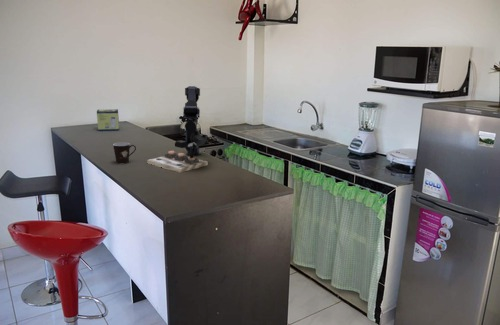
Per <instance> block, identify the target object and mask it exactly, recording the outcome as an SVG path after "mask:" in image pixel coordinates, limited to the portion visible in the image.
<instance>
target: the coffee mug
mask: <svg viewBox="0 0 500 325" xmlns="http://www.w3.org/2000/svg"><path fill="white" fill-rule="evenodd" d="M112 146H113V151H114V157H115V158H114V159H115V162H117V163H116V164H119V163H124V164H128V163H129V160H130V156H131V155H133V154H134V153H135V151H136V150H137V147H136V145H134V144H130V143H129V142H115V143H113V144H112ZM132 147H134V150H133V151H132V152H131V153H130V149H131V148H132ZM127 162H128V163H127Z"/></svg>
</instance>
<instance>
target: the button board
mask: <svg viewBox="0 0 500 325" xmlns="http://www.w3.org/2000/svg"><path fill="white" fill-rule="evenodd" d="M189 157H190V156H189V155H185V157H183V158H179V157H178V153H176V152H175V155H168V153H165V154H164V155H163V156H159V157H154V158H150V159H147V160H146V164H147V163H148V165H151V164H152V166H154V165H155V167H158V168H161V167H162V169H165V170H168V171H173V172H176V173H179V174H180V173H184V172H188V171H191V170H195V169H199V168H201V167H202V168H203V167H205V166H208V164H209V163H208V161H207V160H203V159H199V158H197V157H195V160H192V161H191V160H188V158H189Z"/></svg>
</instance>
